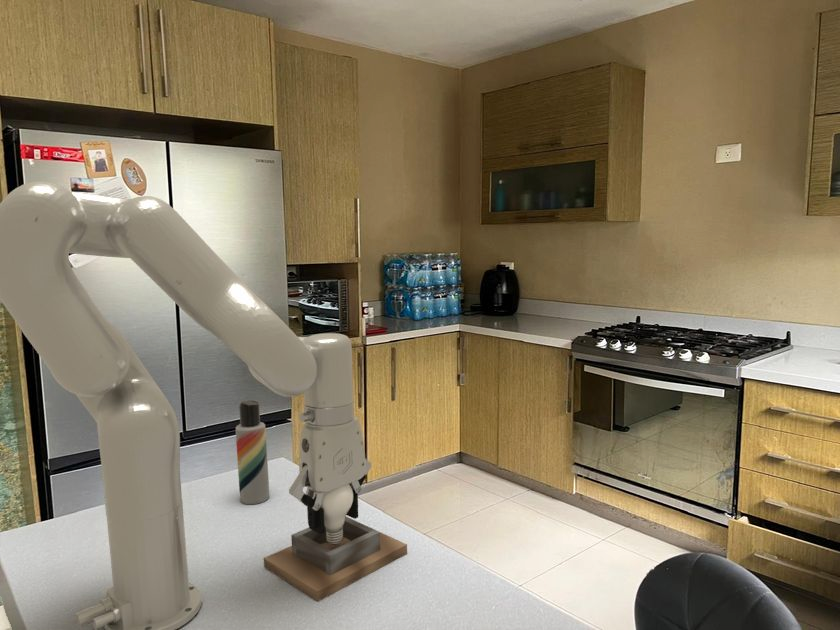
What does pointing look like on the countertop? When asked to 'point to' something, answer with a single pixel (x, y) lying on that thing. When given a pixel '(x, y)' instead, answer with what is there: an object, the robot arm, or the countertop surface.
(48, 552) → the countertop surface
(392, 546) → the lamp socket
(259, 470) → the lotion bottle
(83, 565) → the countertop surface
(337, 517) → the lightbulb
